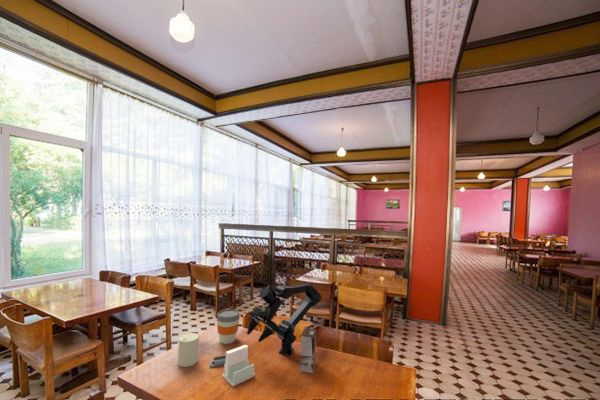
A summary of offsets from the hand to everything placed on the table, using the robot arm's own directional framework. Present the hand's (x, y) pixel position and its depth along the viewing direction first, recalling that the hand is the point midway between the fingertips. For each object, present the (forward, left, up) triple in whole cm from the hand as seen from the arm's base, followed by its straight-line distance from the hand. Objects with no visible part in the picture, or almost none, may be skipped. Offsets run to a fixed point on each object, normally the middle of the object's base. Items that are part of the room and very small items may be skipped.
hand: (253, 337), depth 124 cm
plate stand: (+1, -15, -14) cm, 20 cm away
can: (+5, -32, -14) cm, 35 cm away
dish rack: (+8, -3, -14) cm, 16 cm away
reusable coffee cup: (-20, -24, -14) cm, 34 cm away
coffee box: (-8, +25, -14) cm, 30 cm away
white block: (+7, -5, -13) cm, 15 cm away
